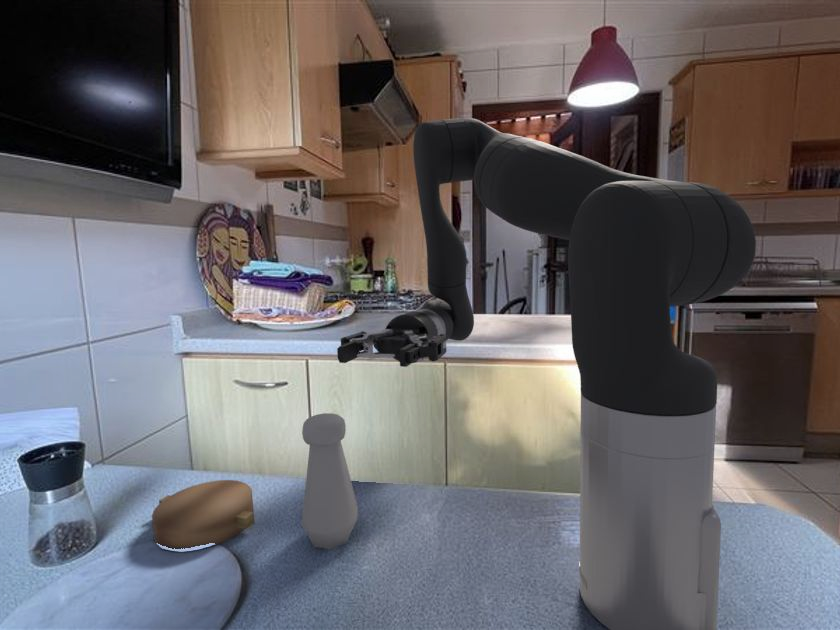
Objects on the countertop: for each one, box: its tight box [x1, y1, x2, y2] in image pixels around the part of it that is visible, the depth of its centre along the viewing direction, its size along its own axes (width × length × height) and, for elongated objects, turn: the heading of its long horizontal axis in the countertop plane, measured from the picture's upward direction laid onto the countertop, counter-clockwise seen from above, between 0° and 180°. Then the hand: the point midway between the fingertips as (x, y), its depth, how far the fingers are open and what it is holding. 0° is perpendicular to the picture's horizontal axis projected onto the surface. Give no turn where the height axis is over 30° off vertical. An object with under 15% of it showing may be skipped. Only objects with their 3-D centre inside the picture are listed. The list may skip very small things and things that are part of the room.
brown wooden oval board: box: [151, 479, 256, 549], centre depth 49 cm, size 13×10×2 cm
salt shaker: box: [300, 412, 359, 551], centre depth 45 cm, size 6×6×13 cm
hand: (370, 356), depth 54 cm, fingers open, 8 cm apart
